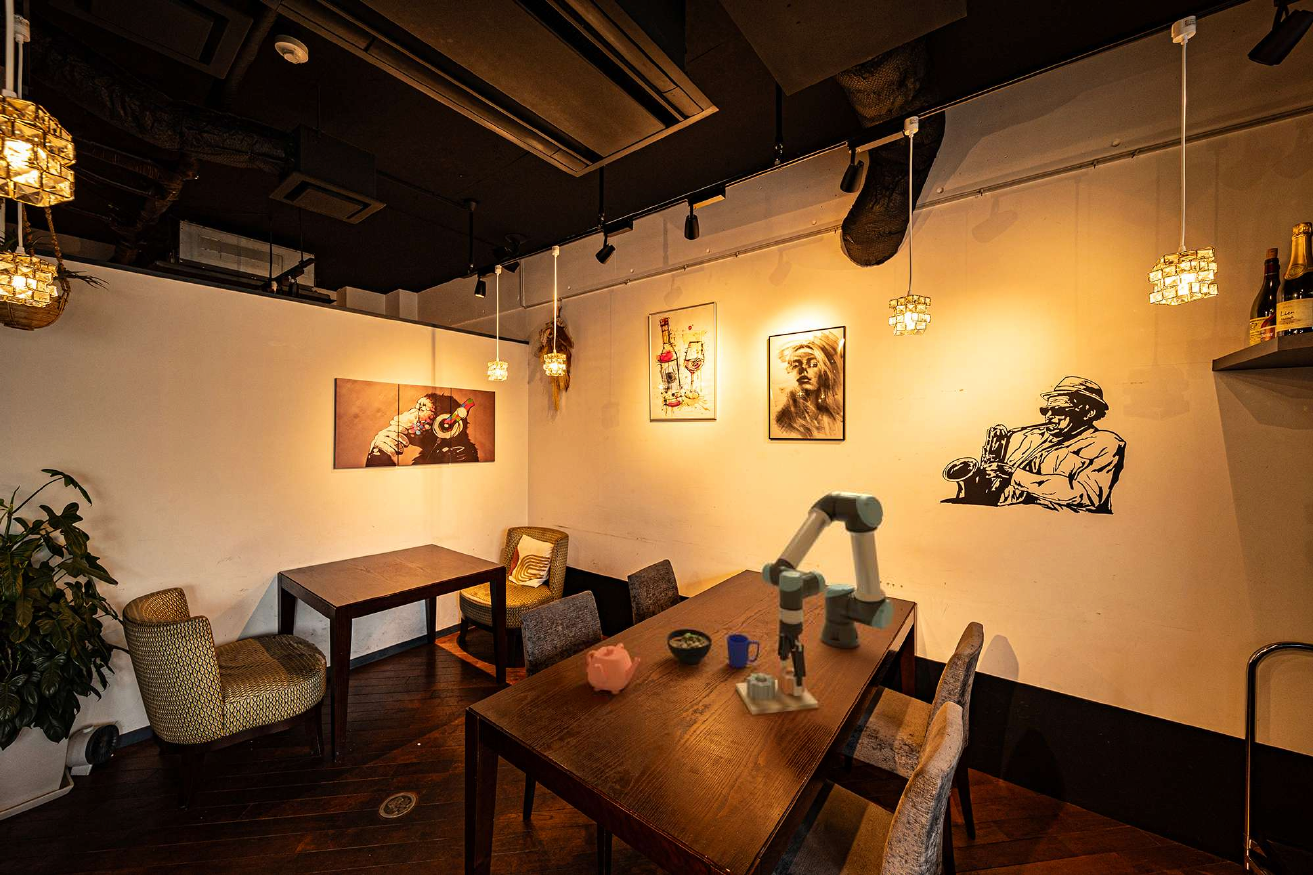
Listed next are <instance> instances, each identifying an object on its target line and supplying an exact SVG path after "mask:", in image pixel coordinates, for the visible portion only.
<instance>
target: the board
mask: <svg viewBox="0 0 1313 875" xmlns="http://www.w3.org/2000/svg"><path fill="white" fill-rule="evenodd" d="M788 675H790V676H793V675H794V674H791V673H790V674H788ZM774 680H775V697H772V701H769V700H767V701H763V702H759V700H756V699H751V698H750V694H747V682H741V683H735V689H736V691H737V693H738V694H739V696H740V698H742V700H743V702H744V703H745V706H747V709H748V710H749V711H750V713H751V714H752V715H753V716H754V715H764V714H772V713H782V712H783V713H784V712H789V711H791V712H793V711H800V710H809V709H818V708H819V701H817V700H816V698H815V697H814V696H813V695H812V694H811V693H810V691H808V689H806V688H805V692H804V693H803V692H802V695H798V696H794V695H793V694H790V693H788V694H785V692H784V691H782V690H779V689H778V684H777V679H774ZM758 682H763V683H764V677H762V676H759V677H758Z"/></svg>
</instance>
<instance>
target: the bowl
mask: <svg viewBox="0 0 1313 875" xmlns="http://www.w3.org/2000/svg"><path fill="white" fill-rule="evenodd" d="M712 640H713V639H712V638H711V637H710V635H708V634H707V633H705V632H702V631H700V630H697V629H690V628H682V629H681V628H680V629H677V630H673V631H672V632H669V633H668V636H667V639H666V641H667V647H668V650H669V652H670V653H671V654H672V655H673V656H674V657H675V658H676V660H677V661H678V663H679V664H681V665H682V666H684V667H685V666H686V667H694V666H698V665H699V664H700V663H701V662H702V660H703V659H704V658H705V657H706V656H708V654H709V653H710V650H711V648H712V643H713V641H712Z"/></svg>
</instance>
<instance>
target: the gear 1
mask: <svg viewBox="0 0 1313 875" xmlns="http://www.w3.org/2000/svg"><path fill="white" fill-rule="evenodd" d="M759 676H762V677H764V683H763V682H758V677H759ZM746 679H747V680H746V683H747V694H750V698H751V699H756V700H759V702H763V701H767V700H769V701H772V697H775V680H776V679H773V675H771V674H769V675H767V674H766V673H763V672H759V673H753V672H752V673H750V676H748V677H747V678H746Z"/></svg>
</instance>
